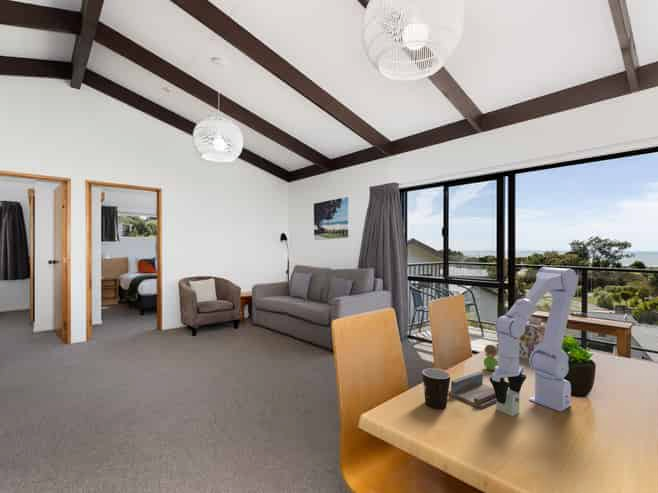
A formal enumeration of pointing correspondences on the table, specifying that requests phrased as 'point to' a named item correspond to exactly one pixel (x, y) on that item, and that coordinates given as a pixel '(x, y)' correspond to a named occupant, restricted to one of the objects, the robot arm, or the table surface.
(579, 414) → the table surface
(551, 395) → the robot arm
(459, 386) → the cleat board
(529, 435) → the table surface
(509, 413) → the cabinet block
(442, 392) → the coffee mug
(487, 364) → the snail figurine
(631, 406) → the table surface
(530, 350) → the decorative jar
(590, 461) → the table surface
